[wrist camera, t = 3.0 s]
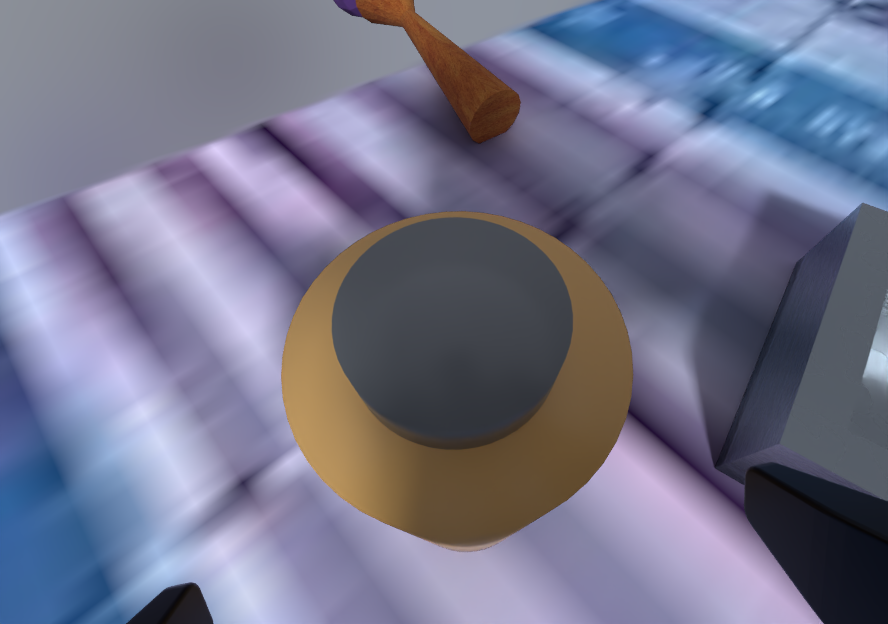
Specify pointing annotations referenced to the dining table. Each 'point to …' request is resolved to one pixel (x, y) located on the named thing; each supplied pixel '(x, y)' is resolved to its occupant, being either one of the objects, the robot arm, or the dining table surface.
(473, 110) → the kendama
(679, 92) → the dining table surface
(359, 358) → the tan cylinder
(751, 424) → the gray square dish
